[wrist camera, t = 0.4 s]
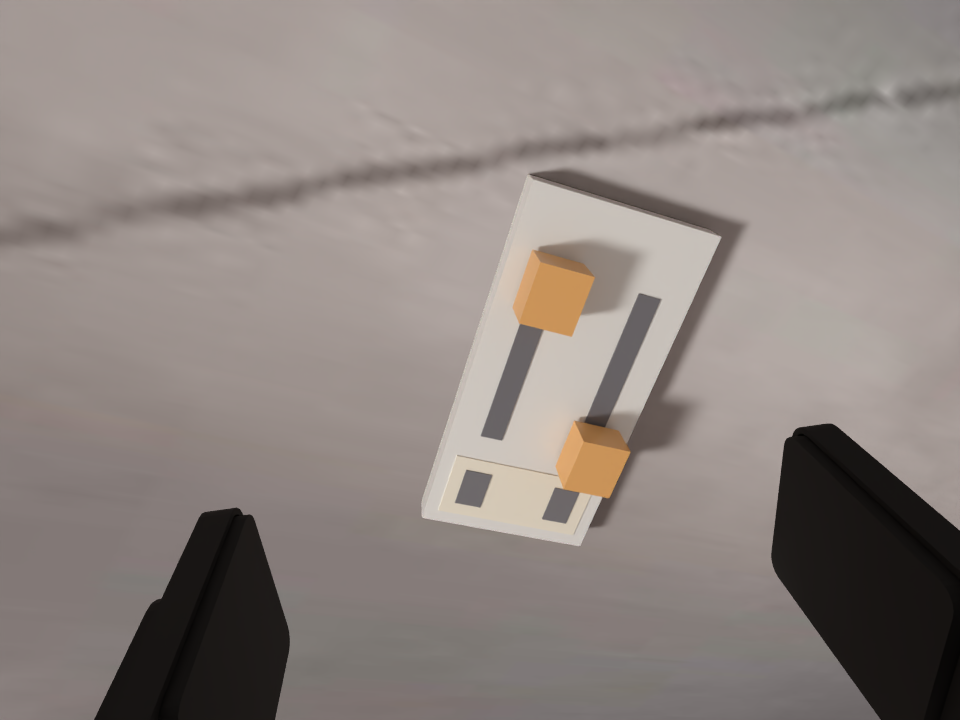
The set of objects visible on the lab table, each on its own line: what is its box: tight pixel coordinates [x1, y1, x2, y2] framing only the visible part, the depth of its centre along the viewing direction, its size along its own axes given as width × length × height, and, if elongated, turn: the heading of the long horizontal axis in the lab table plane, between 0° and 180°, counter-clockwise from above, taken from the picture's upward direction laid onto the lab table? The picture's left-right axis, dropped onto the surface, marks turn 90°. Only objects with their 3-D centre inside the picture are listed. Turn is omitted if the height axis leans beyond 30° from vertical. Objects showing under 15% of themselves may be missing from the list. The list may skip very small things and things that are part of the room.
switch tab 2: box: [555, 421, 630, 498], centre depth 46 cm, size 4×4×3 cm
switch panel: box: [422, 174, 721, 546], centre depth 46 cm, size 26×13×2 cm, turn 163°
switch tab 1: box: [512, 249, 595, 337], centre depth 40 cm, size 4×4×3 cm
